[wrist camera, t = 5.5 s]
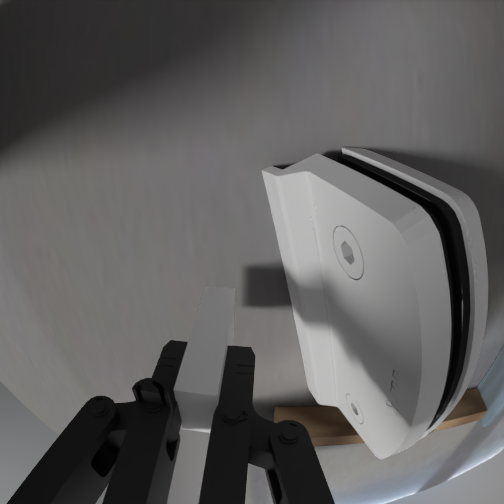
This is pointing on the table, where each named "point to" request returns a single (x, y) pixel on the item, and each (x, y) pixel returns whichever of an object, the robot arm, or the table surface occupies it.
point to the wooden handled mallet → (467, 410)
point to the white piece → (381, 290)
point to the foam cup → (189, 467)
